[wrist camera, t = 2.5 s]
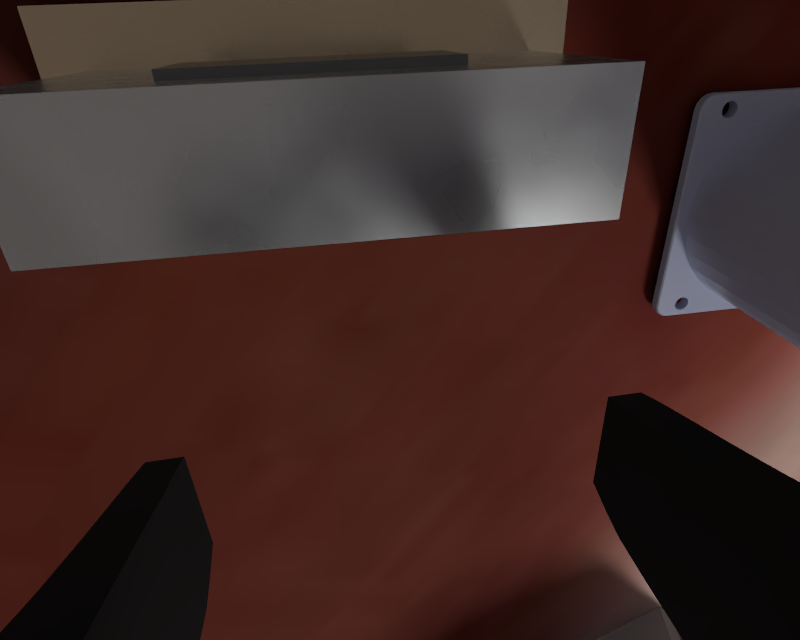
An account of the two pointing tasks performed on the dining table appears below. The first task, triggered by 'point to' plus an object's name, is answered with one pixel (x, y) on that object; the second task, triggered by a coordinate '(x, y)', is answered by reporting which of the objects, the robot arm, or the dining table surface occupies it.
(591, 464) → the dining table surface
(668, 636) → the grey curved block
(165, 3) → the grey unit
